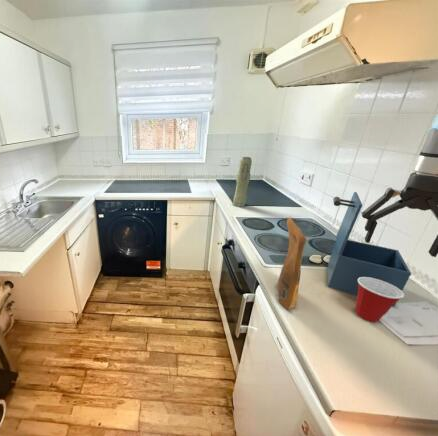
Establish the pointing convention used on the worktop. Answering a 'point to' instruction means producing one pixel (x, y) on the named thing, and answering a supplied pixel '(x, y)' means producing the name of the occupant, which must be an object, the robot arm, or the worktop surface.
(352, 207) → the lid
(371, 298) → the plastic cup
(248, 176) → the olive green rough post
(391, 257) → the blue hollow box
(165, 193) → the worktop surface
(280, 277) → the pancake mix bag
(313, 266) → the worktop surface
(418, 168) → the robot arm
